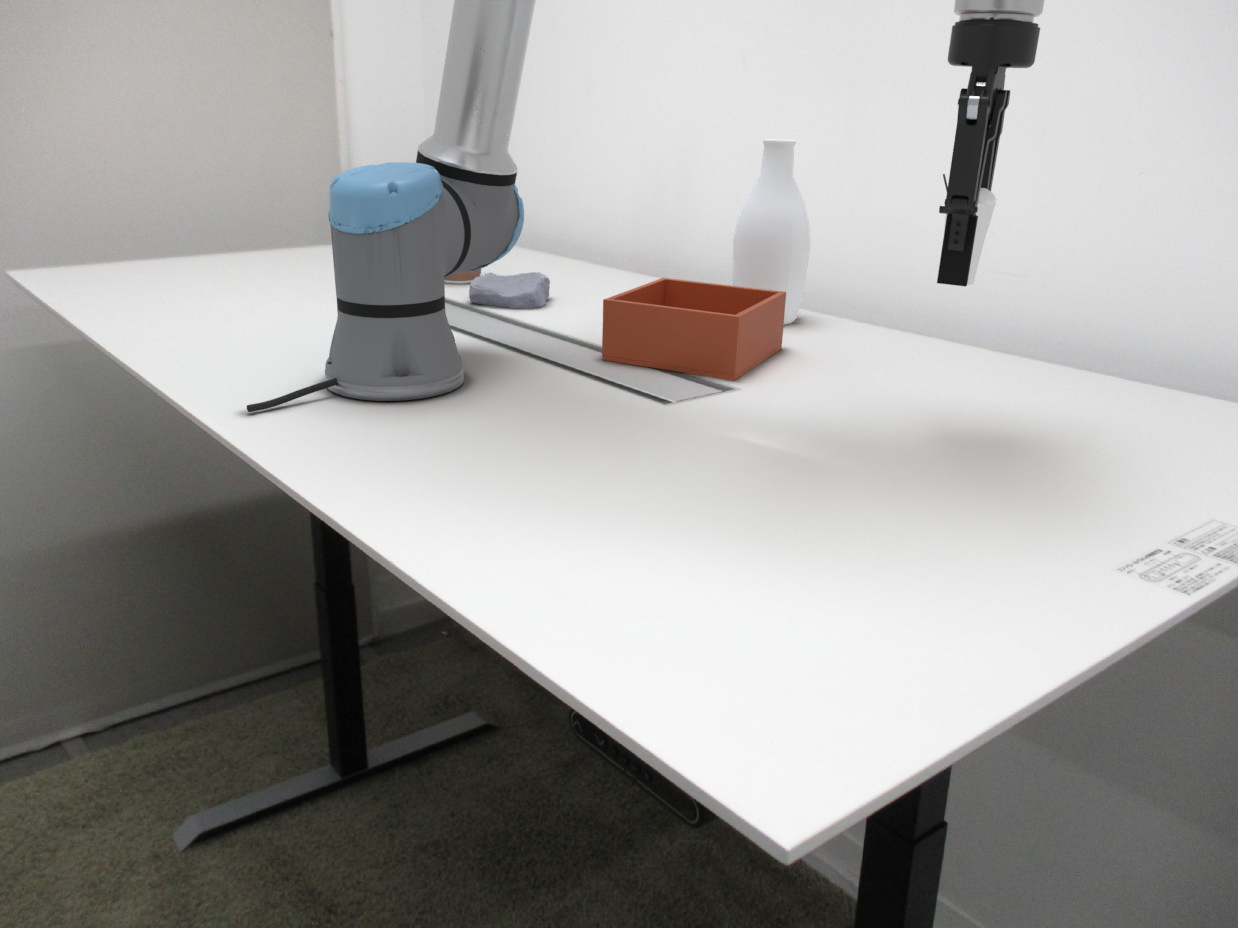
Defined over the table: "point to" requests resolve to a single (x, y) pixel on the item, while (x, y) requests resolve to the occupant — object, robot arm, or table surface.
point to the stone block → (510, 290)
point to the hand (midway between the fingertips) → (956, 279)
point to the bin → (693, 327)
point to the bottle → (774, 230)
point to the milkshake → (979, 227)
